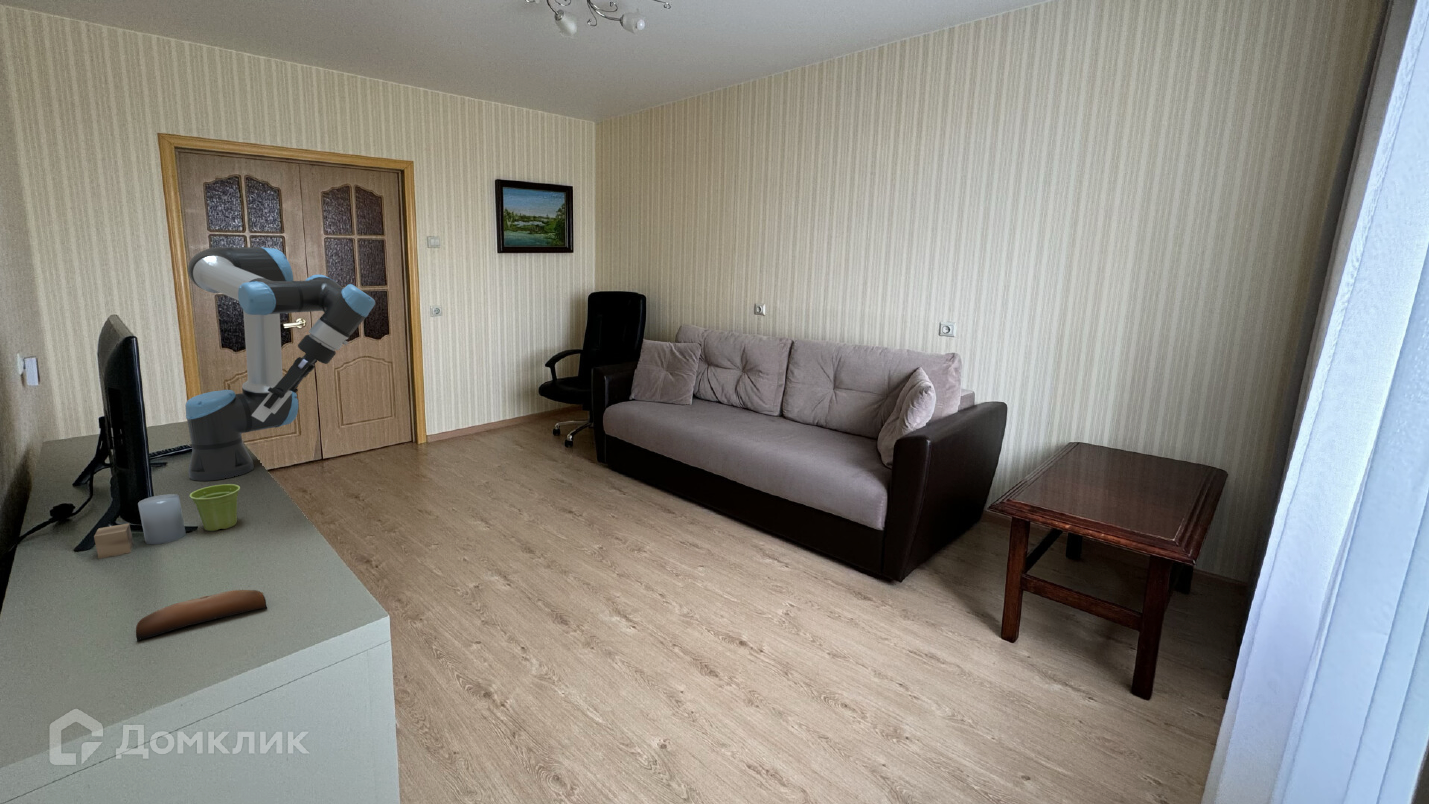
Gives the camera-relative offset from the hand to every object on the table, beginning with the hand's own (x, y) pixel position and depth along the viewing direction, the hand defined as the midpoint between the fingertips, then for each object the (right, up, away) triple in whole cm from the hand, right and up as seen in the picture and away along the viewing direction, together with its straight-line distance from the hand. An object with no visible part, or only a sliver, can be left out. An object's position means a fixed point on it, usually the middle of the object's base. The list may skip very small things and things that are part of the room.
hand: (263, 414), depth 155 cm
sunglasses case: (+16, -35, -38) cm, 55 cm away
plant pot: (-9, -26, -1) cm, 28 cm away
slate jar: (-17, -28, -7) cm, 33 cm away
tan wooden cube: (-22, -29, -14) cm, 39 cm away
